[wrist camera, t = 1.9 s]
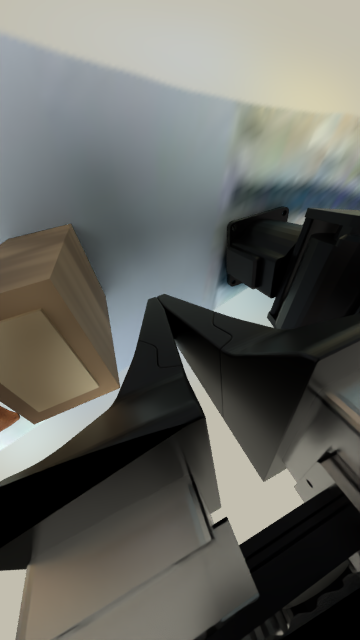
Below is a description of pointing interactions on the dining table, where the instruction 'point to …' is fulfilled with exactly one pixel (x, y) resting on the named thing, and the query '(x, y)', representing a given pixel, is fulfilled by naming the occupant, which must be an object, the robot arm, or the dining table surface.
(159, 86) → the dining table surface
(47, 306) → the walnut block
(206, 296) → the dining table surface
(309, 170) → the dining table surface
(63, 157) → the dining table surface
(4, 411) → the sunglasses case
